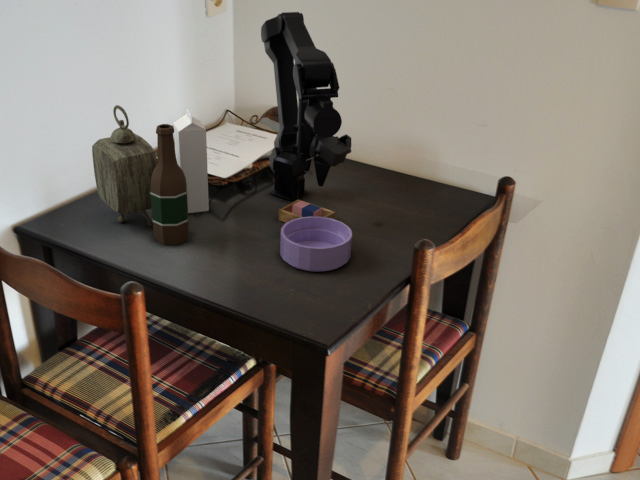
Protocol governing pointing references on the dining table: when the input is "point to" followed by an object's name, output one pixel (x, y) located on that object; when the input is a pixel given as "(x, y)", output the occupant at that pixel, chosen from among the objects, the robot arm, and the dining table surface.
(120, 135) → the tabletop clock
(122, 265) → the dining table surface
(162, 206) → the beer bottle
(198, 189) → the milk
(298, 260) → the bowl
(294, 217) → the tray
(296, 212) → the eraser
